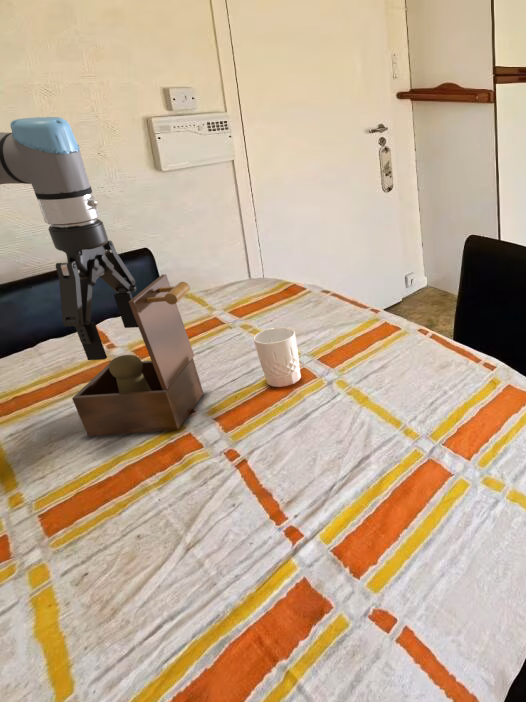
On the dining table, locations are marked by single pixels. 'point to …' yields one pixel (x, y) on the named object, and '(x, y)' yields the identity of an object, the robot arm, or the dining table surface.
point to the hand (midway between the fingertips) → (116, 342)
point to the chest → (137, 403)
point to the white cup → (278, 356)
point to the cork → (128, 374)
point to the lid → (163, 328)
